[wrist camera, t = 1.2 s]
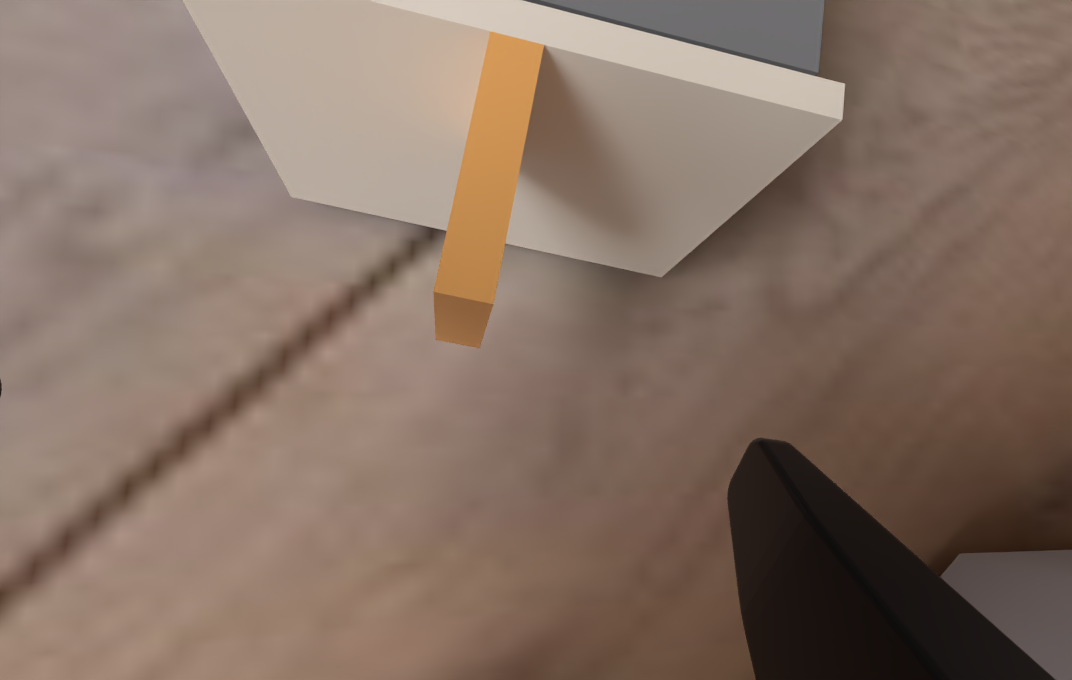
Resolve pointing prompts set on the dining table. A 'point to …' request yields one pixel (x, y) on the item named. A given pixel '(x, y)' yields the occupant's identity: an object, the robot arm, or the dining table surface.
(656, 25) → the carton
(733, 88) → the white drawer unit
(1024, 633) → the bottle
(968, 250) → the dining table surface
